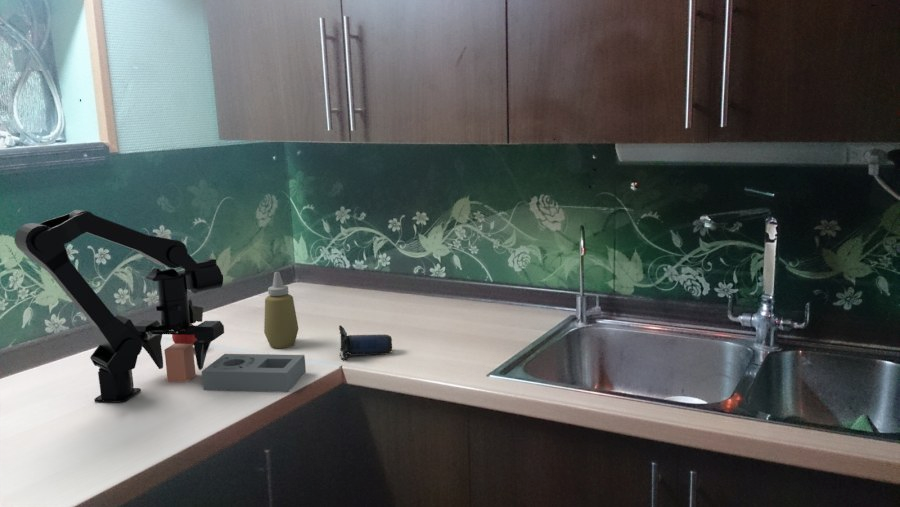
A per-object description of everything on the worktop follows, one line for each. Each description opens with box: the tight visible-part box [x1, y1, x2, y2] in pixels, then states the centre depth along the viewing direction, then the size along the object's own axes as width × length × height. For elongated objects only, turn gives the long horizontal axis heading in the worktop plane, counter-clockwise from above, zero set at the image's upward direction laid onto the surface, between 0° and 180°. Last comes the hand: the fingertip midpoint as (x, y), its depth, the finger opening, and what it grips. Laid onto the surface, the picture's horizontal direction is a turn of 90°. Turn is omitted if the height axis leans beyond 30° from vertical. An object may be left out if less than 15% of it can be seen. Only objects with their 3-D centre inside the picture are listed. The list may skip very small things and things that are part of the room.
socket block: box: [201, 353, 307, 393], centre depth 157 cm, size 11×18×4 cm, turn 82°
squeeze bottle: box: [263, 271, 300, 349], centre depth 179 cm, size 8×8×18 cm
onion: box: [171, 323, 197, 346], centre depth 179 cm, size 6×6×8 cm
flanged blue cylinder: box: [338, 325, 393, 361], centre depth 172 cm, size 9×8×12 cm
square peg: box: [164, 343, 196, 383], centre depth 160 cm, size 4×4×7 cm
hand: (180, 368), depth 160 cm, fingers open, 9 cm apart
